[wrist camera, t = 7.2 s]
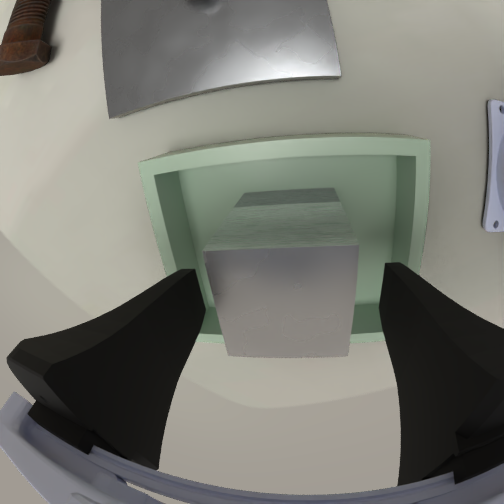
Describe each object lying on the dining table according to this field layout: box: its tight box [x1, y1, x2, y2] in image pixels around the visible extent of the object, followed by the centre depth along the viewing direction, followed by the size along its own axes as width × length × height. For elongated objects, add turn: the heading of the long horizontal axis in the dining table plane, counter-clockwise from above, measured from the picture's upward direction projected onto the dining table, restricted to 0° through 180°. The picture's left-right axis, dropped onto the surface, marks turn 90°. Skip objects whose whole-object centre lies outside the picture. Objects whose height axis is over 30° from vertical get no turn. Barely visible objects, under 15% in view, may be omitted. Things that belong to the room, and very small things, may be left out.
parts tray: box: [138, 133, 430, 343], centre depth 13 cm, size 12×10×3 cm
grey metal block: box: [202, 188, 359, 358], centre depth 11 cm, size 4×4×6 cm
